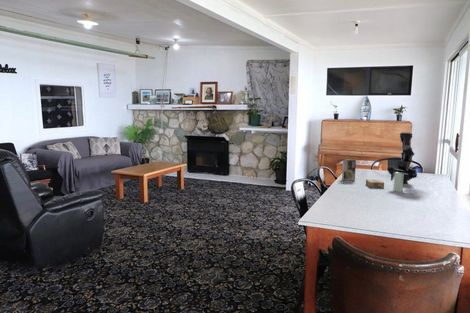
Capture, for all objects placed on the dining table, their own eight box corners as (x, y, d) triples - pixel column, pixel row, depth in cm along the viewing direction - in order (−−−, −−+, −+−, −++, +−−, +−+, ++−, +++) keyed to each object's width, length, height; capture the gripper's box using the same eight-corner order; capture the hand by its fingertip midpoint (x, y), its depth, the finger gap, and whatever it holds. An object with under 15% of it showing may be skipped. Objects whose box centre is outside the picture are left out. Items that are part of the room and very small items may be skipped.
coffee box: (353, 179, 295) (354, 159, 293) (355, 180, 289) (356, 160, 287) (341, 178, 296) (342, 158, 294) (343, 180, 290) (344, 160, 287)
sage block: (395, 190, 259) (397, 171, 257) (402, 191, 256) (403, 172, 254) (393, 190, 256) (394, 172, 254) (399, 192, 253) (401, 173, 251)
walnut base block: (379, 185, 274) (379, 179, 274) (383, 188, 264) (384, 182, 264) (365, 184, 275) (366, 179, 274) (369, 187, 265) (369, 182, 265)
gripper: (389, 155, 262) (381, 172, 256) (417, 158, 249) (409, 176, 243) (393, 165, 269) (385, 181, 263) (420, 168, 256) (413, 186, 250)
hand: (398, 181), depth 254 cm, fingers open, 9 cm apart
